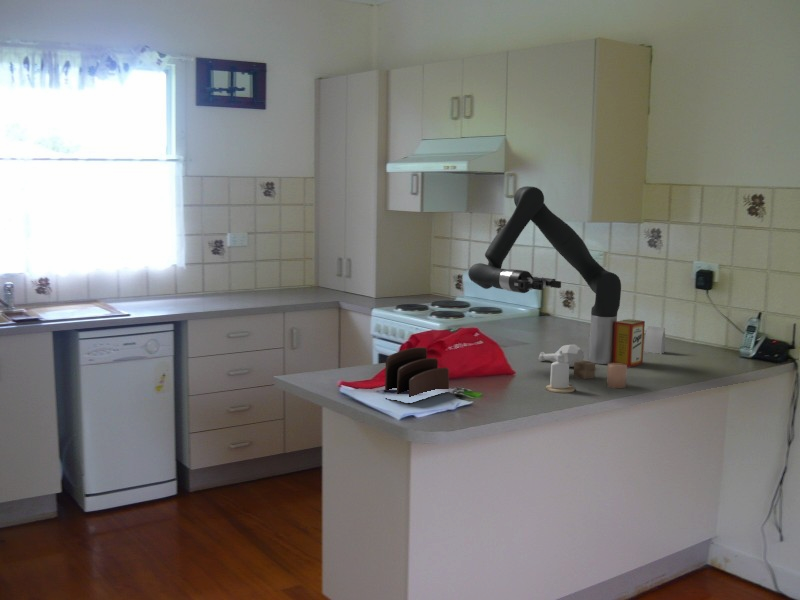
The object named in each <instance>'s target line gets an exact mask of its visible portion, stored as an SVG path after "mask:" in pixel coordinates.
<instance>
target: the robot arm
mask: <svg viewBox="0 0 800 600" xmlns="http://www.w3.org/2000/svg"><path fill="white" fill-rule="evenodd" d="M513 202H514V205H515V209H514V211H513V213H512V215H511V216H510V218H509V220H508V221H507V222H506V223H505V224H504V226H503V227H502V228H501V229H500V230H499V231H498V232H497V234H496V235H495V237H494V238H493V239H492V241H491V243H490V244H489V246H488V247H487V250H486V251H485V253H484V257H485V258H486V260H487V261H488V264H485V263H482V262H479V263H475V264H473V265H472V266H471V267H470V268H469V270H468V278H469V280H470V281H471V282H473V283H475V284H476V285H478V286H479V287H481V288H482V289H484V290H489V289H491V288H494V289H499V290H506V291H507V292H512V293H520V294H526V293H529V291H532V290H537V291H542V290H543V289H546V288H554V289H556V288H557V289H561V288H562V282H561V280H560V281H559V280H556V278H548V277H538V276H533V275H532V273H531V272H530V271H528V270H521V269H514V268H511V269H510V268H509V269H507V268H506V269H505V268H502V267H503V263H504V261H505V259H506V258H507V256H508V254H509V253H510V251H511V250H512V247H513V246H514V245H515V243H516V241H517V240H518V238H520V235H521V233H522V232H523V231H524V230H525V228H526V227H527V225H528V224H529V223H530V221H531V222H532V223H533V224H534V225H535V226H536V227H537V228H538V229H539V231H540V232H541V233H542V235H543V236H544V237H545V239H546V240H547V241H548V242H549V243H550V244H551V246H552V247H553V248H554V249H555V250H556V251H557V252H558V254H559V255H560V256H562V258H564V260H566V262H567V263H568V264H569V265H571V267H573V268H574V269H575V270H576V271H577V272H578V273H579V275H580V276H581V277H582V278H583V280H584V281H585V283H586V284H587V285H588V287H589V289H591V291H592V293H594V294H595V301H594V304H593V306H592V307H591V311H590V331H589V332H590V334H588V349H587V361H589V362H594V363H595V364H597V365H598V364H599V365H600V364H601V365H608V364H609V363H613V356H614V336H615V322H617V321H618V311H619V309H620V305H621V295H622V282H621V279H620V277H619V276H618V275H617V274H616V273H613V272H610V271H608V270H606V269H605V268H604V267H603V266H602V265H601V264H599V263H598V262H597V261H596V260H595V258H594V257H593V256H592V254H591V253H590V251H589V249H588V247H587V245H586V243H585V242H584V241H583V239H582V238H581V237H580V235H579V234H578V233H577V232H576V231H575V230H574V229H573V228H572V226H570V225H569V224H568V223H567V222H565V221H564V220H563V219H561V217H559V216H557V215H556V214H555V213H554V212H552V210H550V209H549V207H548V205H546V203H545V196H544V193H543V191H542V190H541V189H540V188H538V187H536V186H527V185H526V186H522V187H520V188H518V189H517V190H516V191H515V192H514V195H513Z"/></svg>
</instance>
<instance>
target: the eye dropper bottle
mask: <svg viewBox="0 0 800 600" xmlns="http://www.w3.org/2000/svg"><path fill="white" fill-rule="evenodd" d="M555 360H556V361H553V362H552V363H551V365H550V377H549V378H550V380H549V382H550V383H549V385H550V386H551V388H556V389H565V388H568V386H570V385H569V384H570V383H569V382H570V381H569V380H570V367H569V364H568V363H566V362H564V354H562V350H560V351H559V354H557V359H555Z"/></svg>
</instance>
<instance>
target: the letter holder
mask: <svg viewBox="0 0 800 600" xmlns="http://www.w3.org/2000/svg"><path fill="white" fill-rule="evenodd" d="M427 356H428V350H427V348H426V347H425V346H424V347H423V346H419V347H417V346H416V347H410V348H406V349H402V350H400V351H396V352H394V353H392V354H390V355H388V356H386V360H385V373H384V375H385V376H384V378H385V379H384V391H385V390H389V389H392V388H397V394H399V393H401V392H404V391H407V390H409V397H411V396H414V395H417V394H419V393H423V392H427V391H431V390H435V389H449V390H450V373H449V372H450V371H449V370H450V369H449V368H448V367H438V365H439V361H438V359H437V358H435V357H431V358H429V357H428V358H427Z"/></svg>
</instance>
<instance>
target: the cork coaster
mask: <svg viewBox="0 0 800 600" xmlns="http://www.w3.org/2000/svg"><path fill="white" fill-rule="evenodd" d="M545 390H546V391H549V392H551V393H556V394H558V393H559V394H569V393H574V392H575V387H574V386H572V385H569V386H568V388H565V389H556V388H551V386H550V384H548V385H546V386H545Z"/></svg>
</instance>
